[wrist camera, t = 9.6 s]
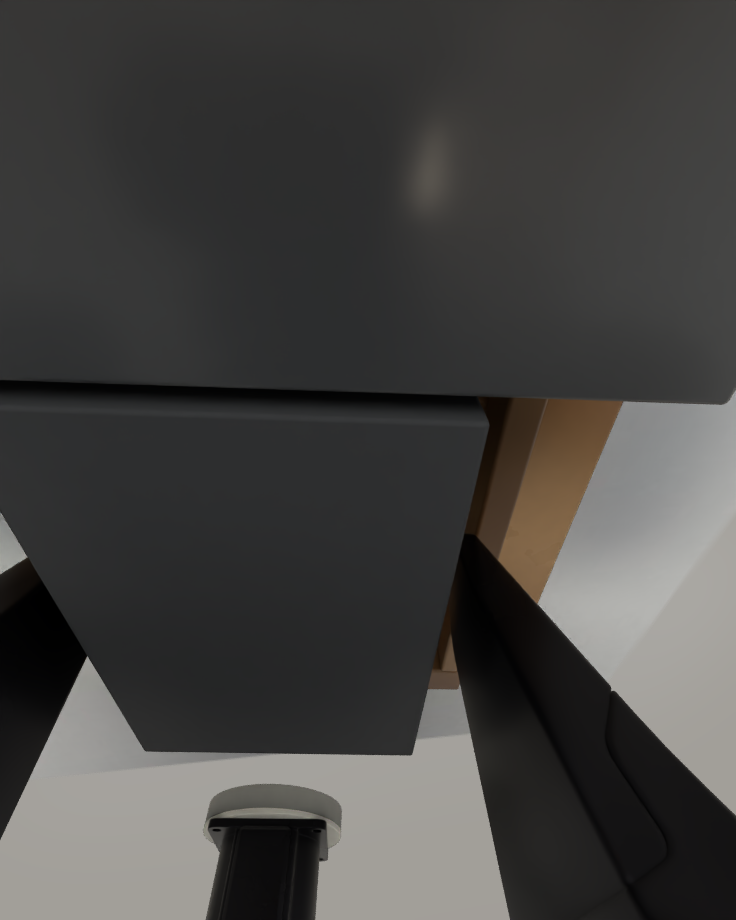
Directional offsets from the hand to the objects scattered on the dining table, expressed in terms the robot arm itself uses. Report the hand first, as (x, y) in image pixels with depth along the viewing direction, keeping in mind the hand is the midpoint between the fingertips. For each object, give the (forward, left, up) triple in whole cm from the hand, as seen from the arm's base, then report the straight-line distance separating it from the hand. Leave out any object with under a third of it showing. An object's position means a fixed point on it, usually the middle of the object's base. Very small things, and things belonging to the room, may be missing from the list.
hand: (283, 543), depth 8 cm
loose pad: (0, 0, -1) cm, 1 cm away
